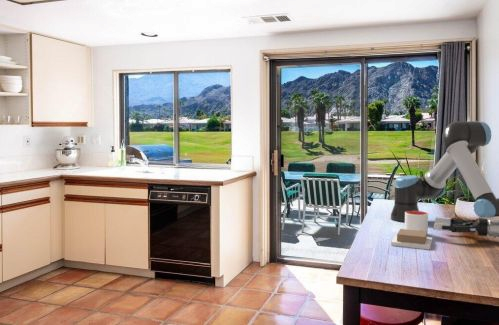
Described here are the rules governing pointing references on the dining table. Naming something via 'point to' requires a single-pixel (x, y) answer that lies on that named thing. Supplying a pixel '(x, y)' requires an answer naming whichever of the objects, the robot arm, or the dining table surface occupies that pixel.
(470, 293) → the dining table surface
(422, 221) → the cup
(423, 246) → the plinth
